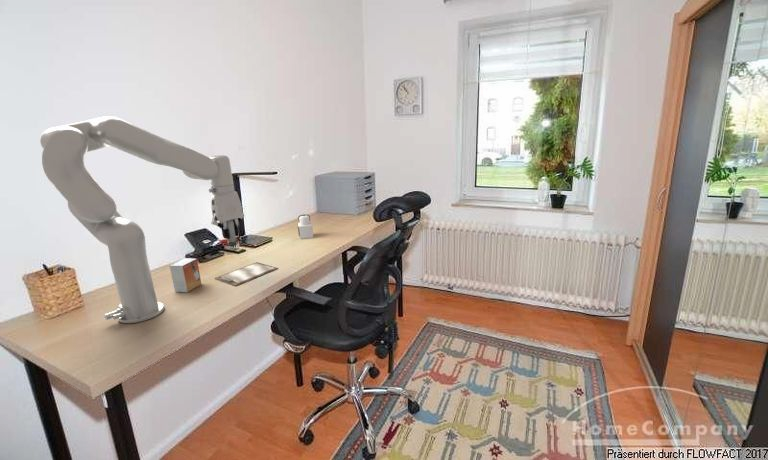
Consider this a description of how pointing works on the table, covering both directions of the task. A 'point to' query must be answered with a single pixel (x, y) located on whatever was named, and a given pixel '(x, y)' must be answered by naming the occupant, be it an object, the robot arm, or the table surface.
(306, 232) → the medicine bottle
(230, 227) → the marker
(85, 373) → the table surface
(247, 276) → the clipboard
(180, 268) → the small box
